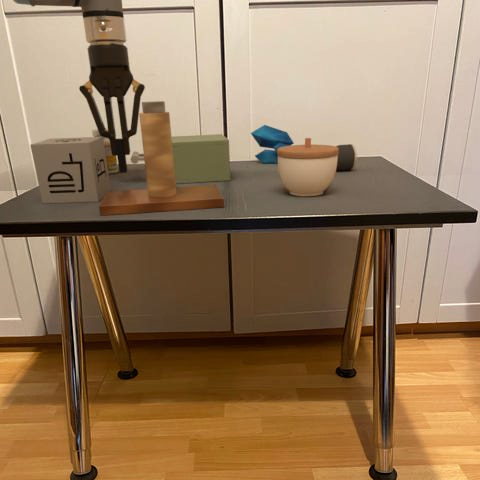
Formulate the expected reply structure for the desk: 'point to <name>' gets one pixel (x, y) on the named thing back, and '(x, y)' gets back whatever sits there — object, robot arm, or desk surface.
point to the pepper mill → (157, 149)
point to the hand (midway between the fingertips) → (123, 171)
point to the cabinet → (201, 158)
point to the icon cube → (71, 169)
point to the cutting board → (160, 200)
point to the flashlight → (346, 157)
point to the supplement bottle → (108, 153)
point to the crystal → (270, 143)
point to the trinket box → (307, 167)
